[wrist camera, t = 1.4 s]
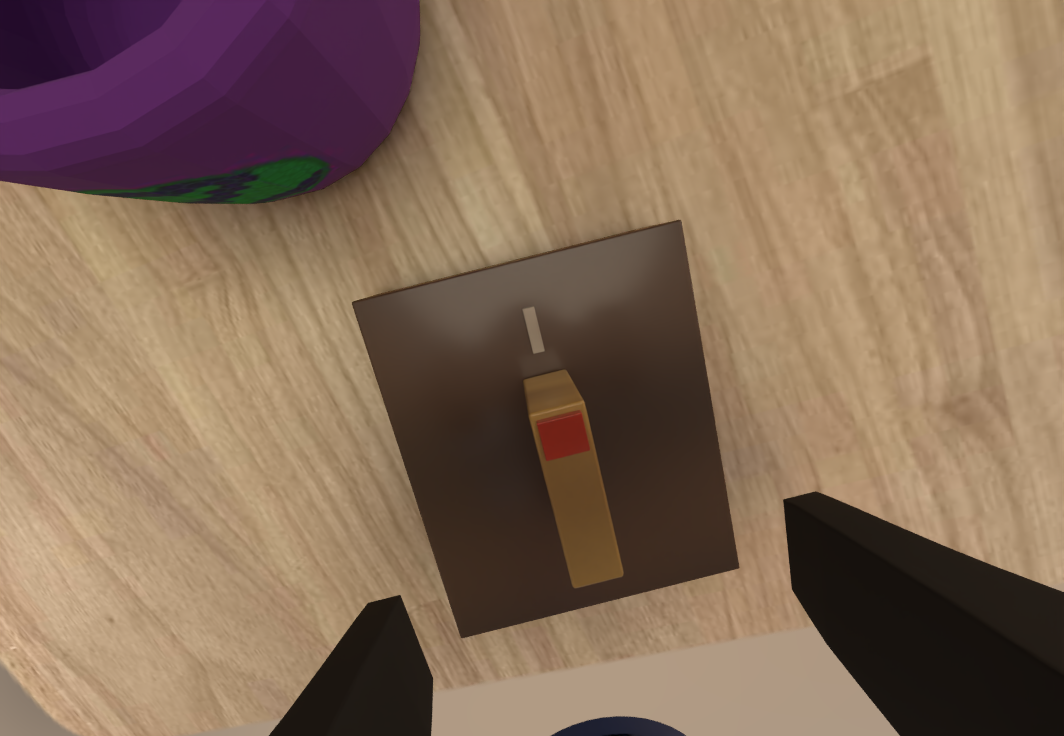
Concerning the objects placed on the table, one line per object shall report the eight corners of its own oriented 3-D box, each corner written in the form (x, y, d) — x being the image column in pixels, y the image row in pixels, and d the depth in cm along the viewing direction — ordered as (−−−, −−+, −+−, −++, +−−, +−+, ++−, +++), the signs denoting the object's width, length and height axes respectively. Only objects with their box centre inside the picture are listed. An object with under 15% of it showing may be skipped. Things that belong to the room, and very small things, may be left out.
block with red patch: (599, 511, 16) (627, 583, 13) (558, 521, 16) (574, 596, 13) (566, 368, 15) (586, 402, 12) (522, 379, 15) (528, 417, 12)
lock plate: (706, 523, 20) (742, 571, 17) (467, 583, 20) (460, 642, 17) (651, 225, 18) (683, 218, 14) (376, 294, 17) (349, 302, 14)
